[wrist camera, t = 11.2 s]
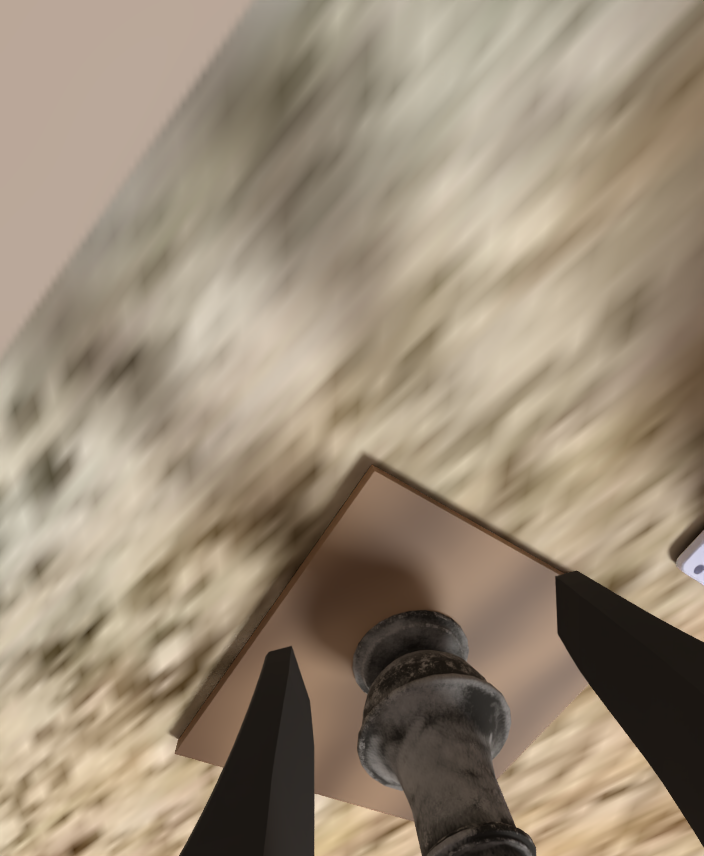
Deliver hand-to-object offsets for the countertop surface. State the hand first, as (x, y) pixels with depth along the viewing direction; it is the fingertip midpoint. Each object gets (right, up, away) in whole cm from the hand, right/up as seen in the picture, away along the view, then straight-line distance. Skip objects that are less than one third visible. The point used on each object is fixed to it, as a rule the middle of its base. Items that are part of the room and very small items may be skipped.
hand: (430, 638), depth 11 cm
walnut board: (+1, -6, +9) cm, 11 cm away
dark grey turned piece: (+1, -5, +8) cm, 9 cm away
